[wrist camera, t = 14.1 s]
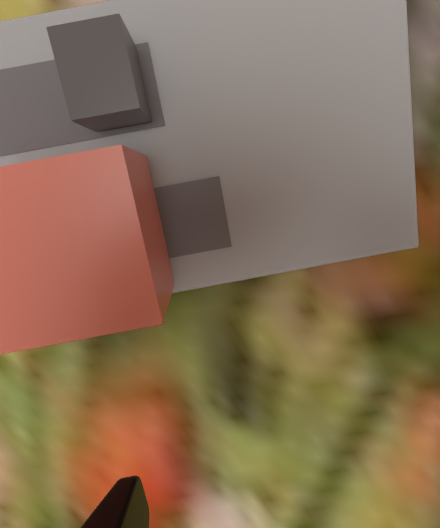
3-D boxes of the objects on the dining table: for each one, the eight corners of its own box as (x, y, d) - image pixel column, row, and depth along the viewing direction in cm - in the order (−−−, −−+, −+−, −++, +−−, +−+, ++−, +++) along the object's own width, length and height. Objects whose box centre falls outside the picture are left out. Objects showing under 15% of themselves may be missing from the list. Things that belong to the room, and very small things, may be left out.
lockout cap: (146, 155, 16) (121, 144, 11) (174, 284, 18) (163, 324, 13) (12, 180, 16) (-72, 179, 11) (51, 306, 18) (-9, 356, 13)
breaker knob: (136, 46, 15) (119, 13, 12) (151, 121, 16) (139, 107, 13) (77, 57, 15) (46, 26, 12) (95, 131, 16) (70, 120, 13)
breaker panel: (388, -37, 16) (411, -64, 14) (405, 243, 19) (426, 249, 17) (-92, 52, 16) (-128, 37, 14) (1, 318, 19) (-20, 332, 17)
